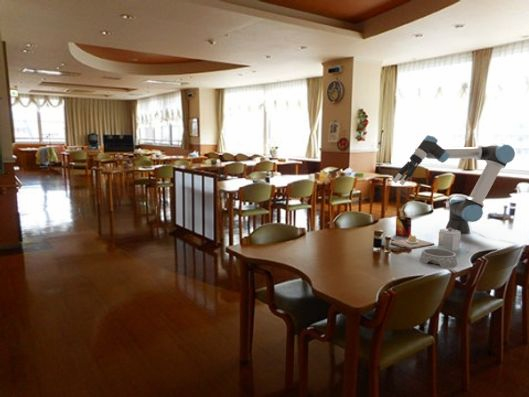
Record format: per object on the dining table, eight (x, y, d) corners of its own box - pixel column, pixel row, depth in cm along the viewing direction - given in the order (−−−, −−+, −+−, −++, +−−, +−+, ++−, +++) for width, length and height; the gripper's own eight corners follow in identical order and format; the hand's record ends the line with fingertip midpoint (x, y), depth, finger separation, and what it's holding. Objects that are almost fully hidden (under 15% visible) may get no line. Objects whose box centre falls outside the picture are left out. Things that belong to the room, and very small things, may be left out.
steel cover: (440, 245, 231) (441, 224, 229) (460, 248, 225) (461, 226, 223) (437, 249, 222) (438, 228, 220) (458, 252, 216) (459, 230, 214)
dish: (411, 240, 239) (412, 233, 238) (420, 243, 233) (421, 235, 232) (403, 241, 236) (403, 234, 235) (412, 244, 230) (413, 236, 229)
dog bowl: (425, 255, 214) (425, 245, 213) (461, 261, 203) (461, 251, 202) (415, 262, 201) (415, 252, 200) (452, 269, 190) (453, 259, 189)
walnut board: (413, 240, 246) (413, 237, 246) (434, 245, 232) (434, 243, 232) (390, 243, 237) (390, 241, 237) (410, 250, 223) (410, 247, 223)
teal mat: (445, 244, 234) (446, 244, 234) (470, 251, 220) (470, 250, 220) (427, 248, 227) (427, 247, 227) (451, 255, 213) (451, 254, 213)
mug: (409, 239, 248) (410, 221, 247) (392, 235, 260) (393, 217, 258) (419, 237, 254) (420, 219, 252) (401, 233, 265) (402, 216, 263)
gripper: (406, 152, 261) (387, 178, 264) (420, 153, 236) (399, 181, 239) (415, 159, 261) (396, 184, 264) (430, 161, 237) (408, 188, 239)
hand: (397, 183), depth 252 cm, fingers open, 13 cm apart
